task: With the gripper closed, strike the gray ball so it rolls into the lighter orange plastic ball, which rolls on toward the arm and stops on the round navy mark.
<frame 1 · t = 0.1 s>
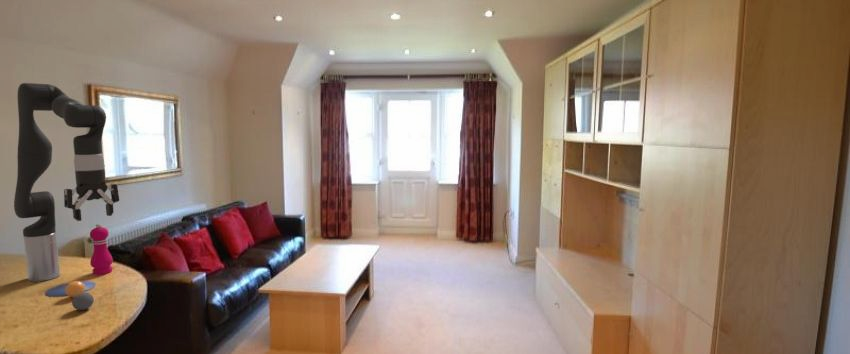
hand: (94, 218, 141), 29 cm above the table, tool pointing down, fingers open, 8 cm apart
pepper mill: (102, 272, 174), on the table
object ball: (75, 289, 150), on the table
gray ball: (83, 301, 140), on the table
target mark: (71, 288, 157), on the table
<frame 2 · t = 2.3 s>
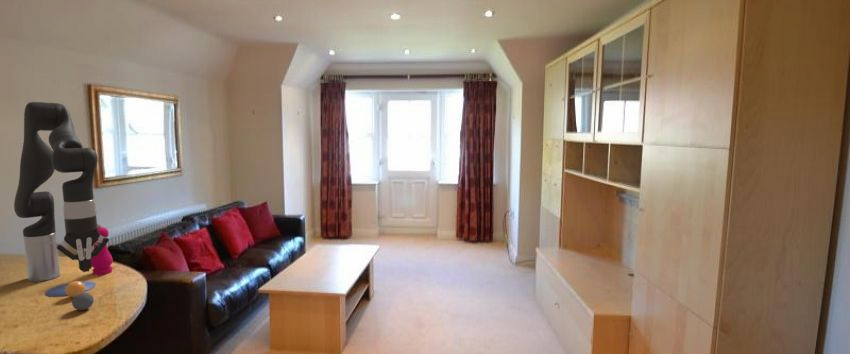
hand: (85, 271, 132), 15 cm above the table, tool pointing down, fingers closed
nothing on the table moved.
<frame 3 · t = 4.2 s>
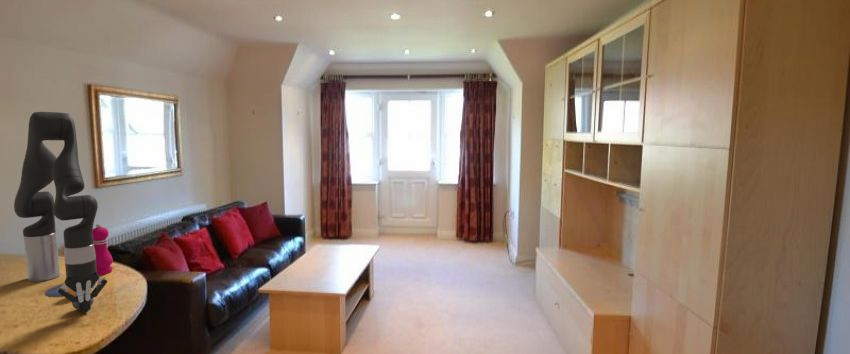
hand: (84, 311, 138), 0 cm above the table, tool pointing down, fingers closed
gray ball: (83, 301, 140), on the table, touching gripper
everything else where it was.
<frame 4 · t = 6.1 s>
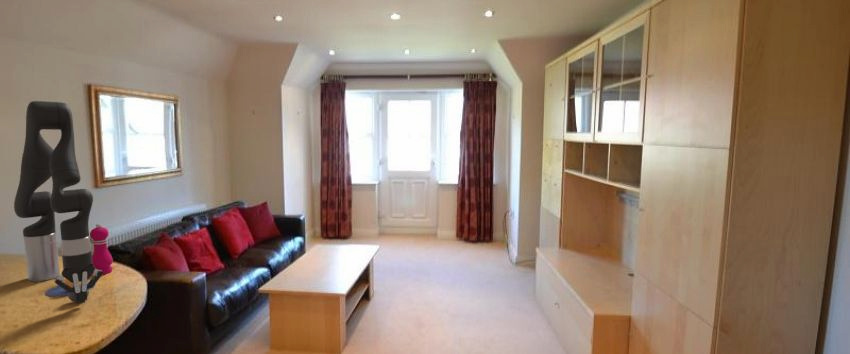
hand: (81, 302, 142), 2 cm above the table, tool pointing down, fingers closed
object ball: (71, 283, 154), on the table
gray ball: (78, 293, 146), on the table
everything else where it was.
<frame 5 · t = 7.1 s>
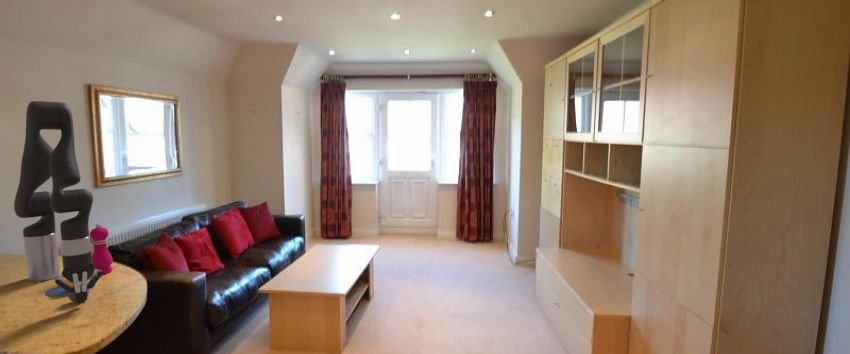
hand: (81, 302, 142), 2 cm above the table, tool pointing down, fingers closed
nothing on the table moved.
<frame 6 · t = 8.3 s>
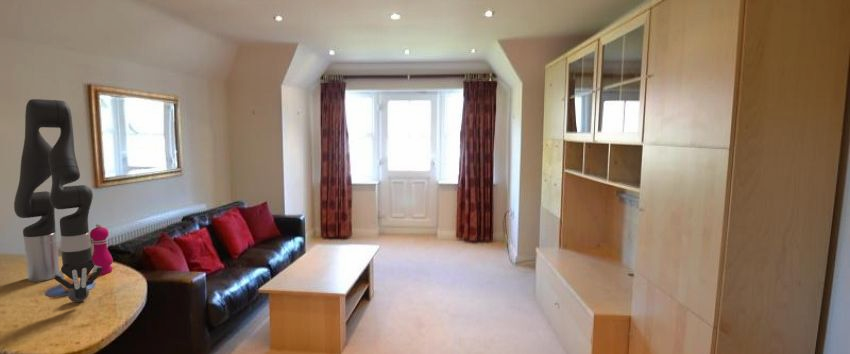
hand: (80, 298, 142), 3 cm above the table, tool pointing down, fingers closed
nothing on the table moved.
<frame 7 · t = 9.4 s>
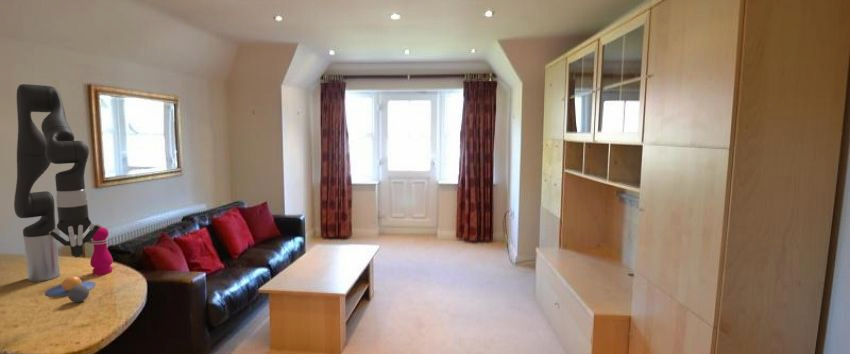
hand: (77, 256, 140), 17 cm above the table, tool pointing down, fingers closed
nothing on the table moved.
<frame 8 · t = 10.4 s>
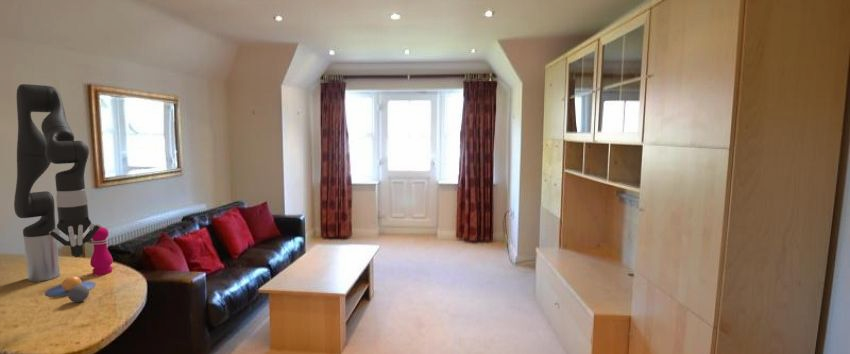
hand: (77, 256, 140), 17 cm above the table, tool pointing down, fingers closed
nothing on the table moved.
at the end: object ball 3.1 cm from the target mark (horizontally); object ball never touched the robot; gray ball first touched object ball at 4.6 s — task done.
